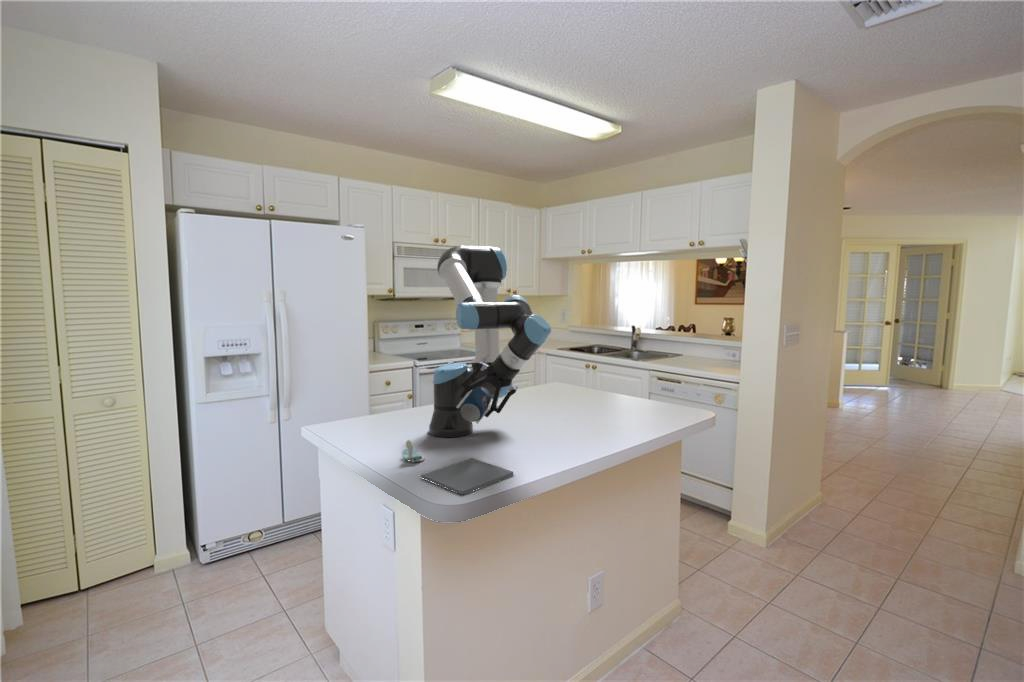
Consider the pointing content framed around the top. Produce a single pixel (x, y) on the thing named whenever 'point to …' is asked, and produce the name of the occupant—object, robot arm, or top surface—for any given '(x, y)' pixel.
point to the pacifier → (411, 453)
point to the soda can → (475, 404)
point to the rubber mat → (467, 475)
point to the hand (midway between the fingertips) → (468, 413)
